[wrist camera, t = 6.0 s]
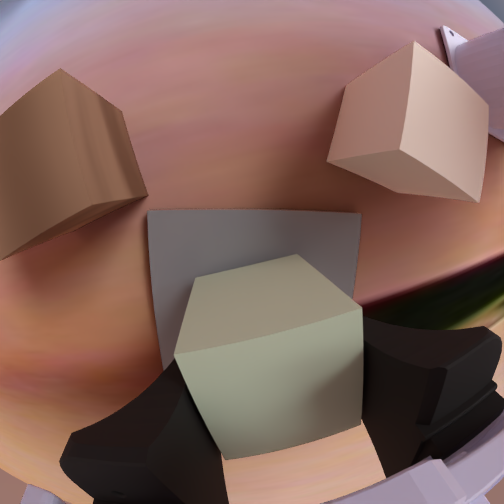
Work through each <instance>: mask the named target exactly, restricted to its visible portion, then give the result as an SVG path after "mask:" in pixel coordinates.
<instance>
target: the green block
mask: <svg viewBox="0 0 504 504" xmlns="http://www.w3.org/2000/svg"><path fill="white" fill-rule="evenodd" d="M174 357H175V359H176V362H177V364H178V366H179V369H180V371H181V373H182V375H183V378H184V380H185V382H186V384H187V387H188V389H189V391H190V393H191V395H192V397H193V400H194V402H195V404H196V406H197V408H198V410H199V412H200V414H201V416H202V418H203V420H204V422H205V424H206V426H207V428H208V429H209V431H210V433H211V435H212V437H213V439H214V441H215V442H216V444H217V446H218V448H219V450H220V451H221V453H222V455H223V457H224V458H225V460H230V459H237V458H243V457H249V456H255V455H260V454H265V453H269V452H274V451H278V450H283V449H287V448H291V447H295V446H298V445H302V444H305V443H309V442H312V441H316V440H319V439H322V438H325V437H328V436H331V435H334V434H337V433H340V432H342V431H345V430H348V429H351V428H353V427H356V426H358V425H361V415H362V398H363V317H362V307H361V306H359V305H358V304H357V303H356V302H355V301H353V300H352V299H351V298H350V297H349V296H348V295H346V294H345V293H344V292H343V291H342V290H340V289H339V288H338V287H337V286H336V285H334V284H333V283H332V282H331V281H330V280H328V279H327V278H326V277H325V276H324V275H322V274H321V273H320V272H319V271H318V270H316V269H315V268H314V267H313V266H311V265H310V264H309V263H308V262H307V261H305V260H304V259H303V258H302V257H300V256H299V255H298V254H295V255H290V256H286V257H282V258H278V259H274V260H269V261H265V262H261V263H257V264H253V265H248V266H244V267H240V268H236V269H231V270H227V271H223V272H218V273H214V274H210V275H205V276H201V277H197V278H195V281H194V284H193V288H192V291H191V294H190V298H189V301H188V305H187V308H186V312H185V315H184V319H183V322H182V326H181V329H180V333H179V337H178V340H177V344H176V348H175V352H174Z"/></svg>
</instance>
